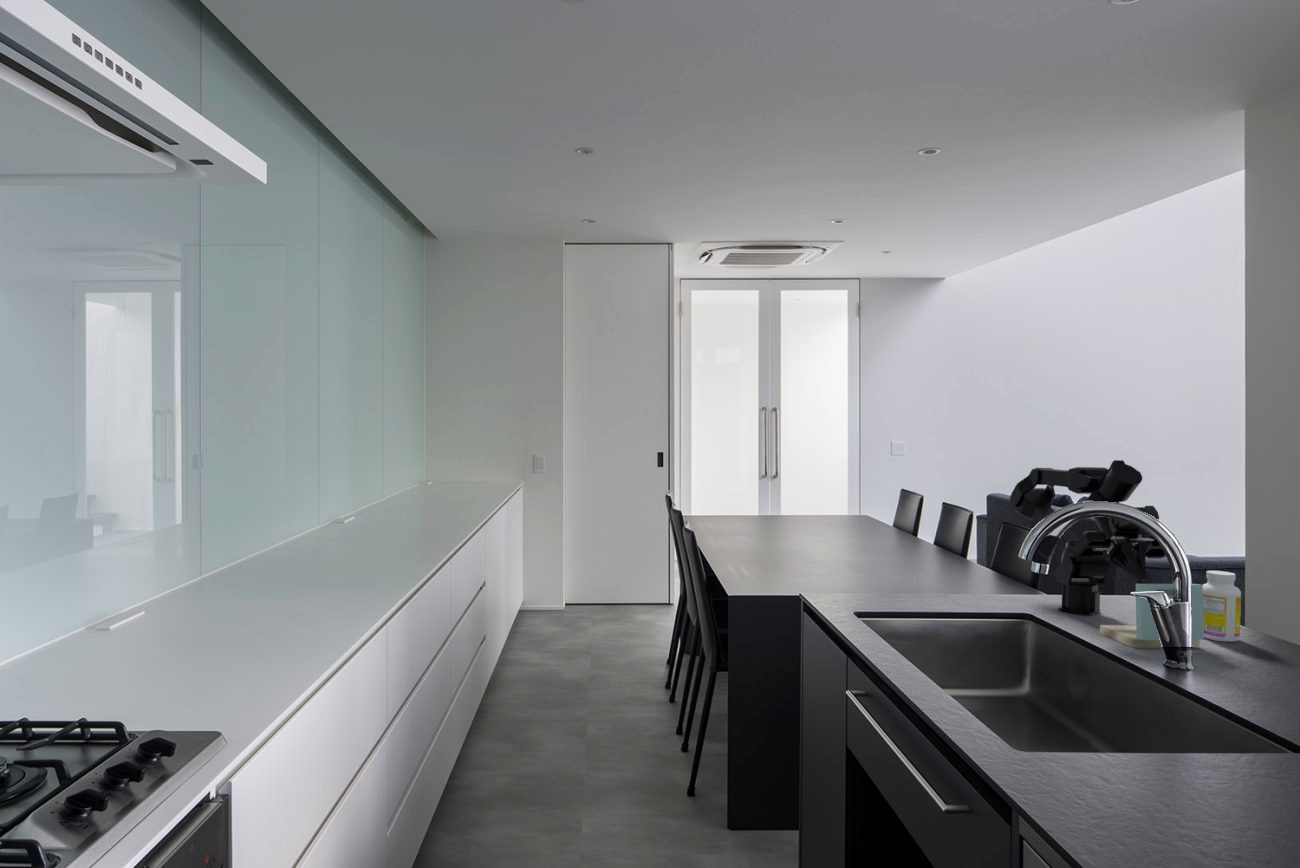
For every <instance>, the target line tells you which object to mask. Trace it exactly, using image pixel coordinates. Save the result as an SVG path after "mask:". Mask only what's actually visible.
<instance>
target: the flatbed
mask: <svg viewBox="0 0 1300 868" xmlns="http://www.w3.org/2000/svg"><path fill="white" fill-rule="evenodd" d="M1099 634H1100V635H1103V636H1106V637H1108V638H1110V639H1112V640H1114V641H1117V642H1120V643H1121V644H1124V645H1126V646H1128V647H1131V648H1134V649H1136V648H1137V649H1139V648H1141V649H1143V648H1147V649H1149V648H1151V649H1155V648H1157V649H1159V648H1161V643H1160V640H1141V639H1137V631H1136V624H1100V625H1099ZM1200 641H1201V640H1192V646H1193V648H1198V649H1199V648H1200ZM1193 648H1192V649H1193ZM1161 649H1162V648H1161Z"/></svg>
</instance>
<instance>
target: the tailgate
mask: <svg viewBox="0 0 1300 868" xmlns="http://www.w3.org/2000/svg"><path fill="white" fill-rule="evenodd" d="M1174 584H1175V583H1135V593H1136V592H1138V591H1164V592H1165V593H1167V595H1168V596H1169V598H1170V599H1172V598H1173V596H1174V594H1173V588H1174ZM1190 584H1191V607H1192V610H1191V614H1192V640H1200V641H1203V640H1204V639H1205V638H1204V622H1203V584H1198V583H1190ZM1135 617H1136V618H1135V619H1136V620H1135V622H1136V624H1135V625H1136V631H1137V639H1141V640H1159V636H1158V632H1157V628H1156V625H1155V622H1154V619H1153V616H1152V612H1151V608H1150V605H1149V602H1148V601H1147V600H1146V599H1145V598H1140V597H1137V596H1136V595H1135Z"/></svg>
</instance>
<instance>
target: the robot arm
mask: <svg viewBox="0 0 1300 868" xmlns="http://www.w3.org/2000/svg"><path fill="white" fill-rule="evenodd" d="M1142 481H1143V475H1142V473H1141V471H1139V470H1137V469H1136V468H1135V467H1133V466H1131V465H1129V464H1126V463H1125V461H1124V460H1122V459H1121V460H1117V459H1114V460H1113V461H1112V462H1111V463H1110V466H1109V468H1108V467H1096V466H1095V467H1093V466H1092V467H1090V466H1087V467H1086V466H1077V467H1072V468H1071V467H1070V468H1069V469H1059V468H1058V469H1057V468H1052V467H1035V468H1032V469H1031V470H1030V472H1029V474H1028V475H1027V476H1026V477H1024V478H1022V480H1020V481H1018V482H1017V483H1016V485H1015V486H1014V489H1013V490H1012V491H1011V494H1010V496H1009V502H1010V505H1011V506H1012V508H1013V510H1014V511H1015V512H1016V513H1018V514H1019V515H1020V516H1022V517H1025V518H1027V519H1030V520H1032V521H1033V522H1034V523H1035V524H1036V525H1037V523H1038V522H1039V521H1041V520H1042V519H1043V518H1044V517H1046V516H1047V515H1049V514H1051V513H1053V512H1054V511H1055V510H1054V509H1053V508H1052V506H1053V505H1052V504H1053V499H1054V498H1055V497H1056V492H1055V486H1057V487H1064V488H1067V489H1068V491H1070V492H1072V493H1074V494H1077V495H1079V494H1080V495H1089V496H1088V497H1087V498H1085V500H1093V501H1108V502H1116V503H1120V504H1121V503H1124V502H1127V501H1128V499H1129V498H1130V497H1131V496H1132V495H1133V493H1134V492H1135V491H1136V489H1137V488H1138V486H1139V485H1140V484H1141V483H1142ZM1037 485H1038V486H1039V485H1041V486H1042V485H1043V486H1046V487H1045V488H1043V487H1037ZM1134 507H1135V506H1134ZM1135 508H1137V509H1139V510H1141V511H1143V512H1146V513H1148V514H1150V515H1152V516H1154V517H1155V518H1156V519H1158V521H1159V520H1160V516H1159V512H1158V510H1157V508H1155V506H1154V505H1144V506H1142V507H1140V506H1138V507H1137V506H1136V507H1135ZM1093 519H1094V522H1095V523H1096V526H1094V530H1085V531H1083V533H1082V534H1081V535H1080V536H1079V537H1078V536H1077V535H1076V534H1075V533H1074V532H1073V530H1072V529H1071V528H1070V527H1069V528H1068V529H1067V530H1066V531H1065V532H1064V534H1063V535H1062V536H1061V538H1060V539H1059V541H1058V543H1057V545H1056V547H1055V548H1056V549H1057V550H1058V551H1059V553H1060V554H1061V559H1060V564H1059V565H1058V567H1057V568H1056V569H1055V570H1054V575H1055V576H1054V577H1055V581H1056V582H1058V583H1061V584H1062V585H1061V586H1062V587H1061V588H1062V589H1061V606H1060V607H1057V610H1058V611H1061V612H1068V613H1072V614H1078V615H1084V616H1087V617H1088V616H1092V615H1095V614H1097V613H1100V612H1101V609H1100V608H1101V607H1100V603H1101V592H1100V591H1099V586H1106V582H1107V578H1108V576H1109V572H1110V568H1111V564H1110V562H1111V563H1112V564H1114V565H1116V566H1117V567H1119V568H1120V569H1122V570H1124V571H1125V572H1127V573H1128V574H1129V575H1131V576H1132V577H1134V578H1135V579H1136V580H1138V581H1139V582H1146V580H1147V578H1148V577H1147V574H1148V573H1147V564H1146V558H1147V559H1162V558H1165V557H1166V556H1167V555H1165V553H1164V551H1163V550H1162V548H1161V546H1160V545H1159V543H1158V542H1157V540H1156V539H1155V538H1153V537H1152V536H1150V534H1149V535H1148V536H1147V537H1139V535H1142V534H1143V533H1144V532H1145V531H1142V530H1141V529H1140V528H1139V527H1137V526H1136V525H1134V524H1132V523H1129V522H1127V521H1123V520H1119V519H1113V518H1107V517H1093ZM1173 535H1174V536H1175V534H1174V533H1173ZM1105 550H1106V553H1107V555H1106V554H1105Z"/></svg>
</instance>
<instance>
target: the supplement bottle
mask: <svg viewBox="0 0 1300 868" xmlns="http://www.w3.org/2000/svg"><path fill="white" fill-rule="evenodd" d="M1205 577H1206V579H1207V580H1206V581H1207V582H1206V583H1203V584H1202V585H1203V622H1204V639H1207V640H1211V641H1215V642H1223V643H1233V642H1234V643H1236V642H1237V641H1239V640H1240V638H1241V637H1240V636H1241V614H1242V613H1241V612H1242V611H1241V610H1242V609H1241V607H1242V592H1241V590H1240V588H1238V587H1237V586H1235V582H1236V579H1237V578H1236V573H1234V572H1230V571H1223V570H1206V575H1205Z"/></svg>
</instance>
